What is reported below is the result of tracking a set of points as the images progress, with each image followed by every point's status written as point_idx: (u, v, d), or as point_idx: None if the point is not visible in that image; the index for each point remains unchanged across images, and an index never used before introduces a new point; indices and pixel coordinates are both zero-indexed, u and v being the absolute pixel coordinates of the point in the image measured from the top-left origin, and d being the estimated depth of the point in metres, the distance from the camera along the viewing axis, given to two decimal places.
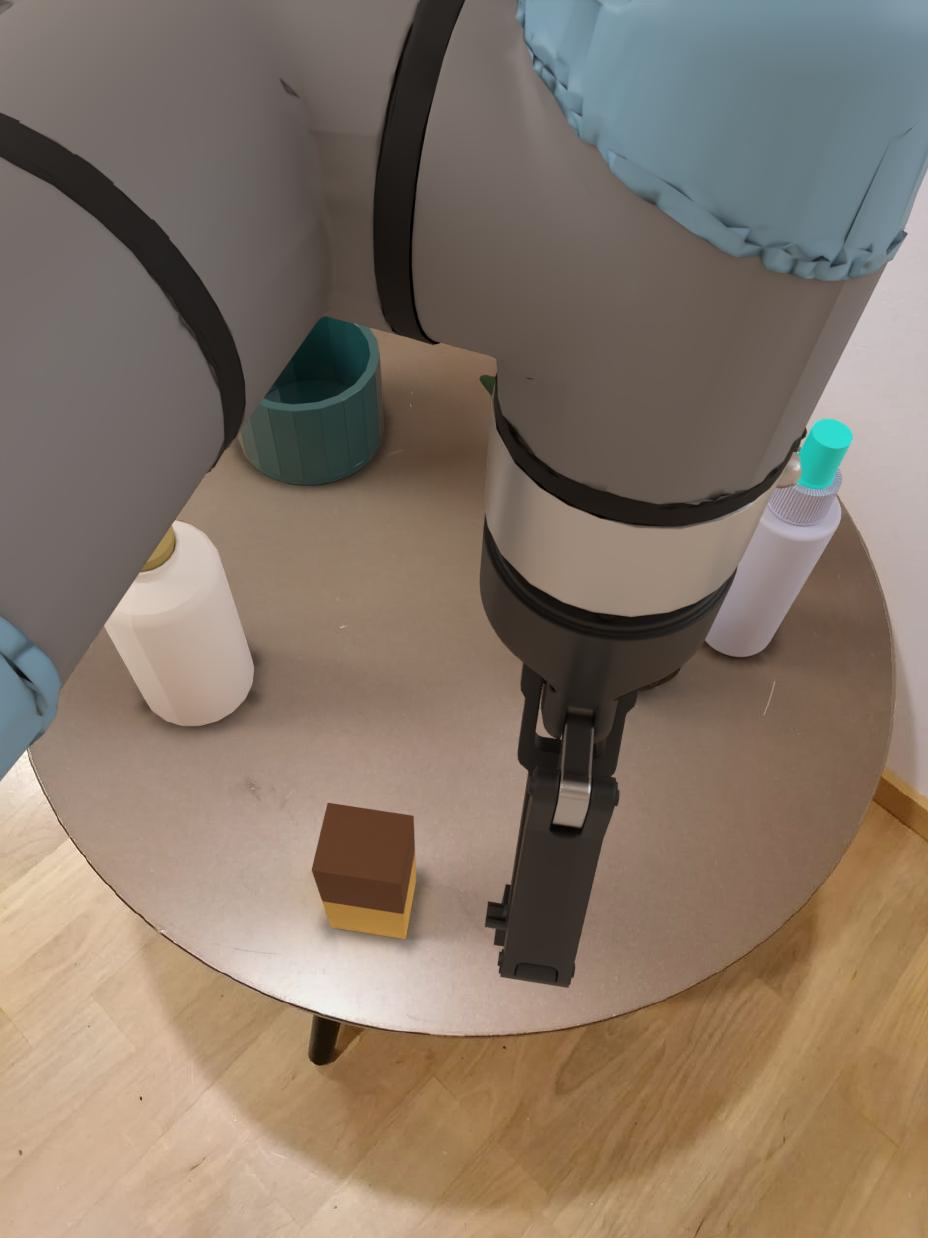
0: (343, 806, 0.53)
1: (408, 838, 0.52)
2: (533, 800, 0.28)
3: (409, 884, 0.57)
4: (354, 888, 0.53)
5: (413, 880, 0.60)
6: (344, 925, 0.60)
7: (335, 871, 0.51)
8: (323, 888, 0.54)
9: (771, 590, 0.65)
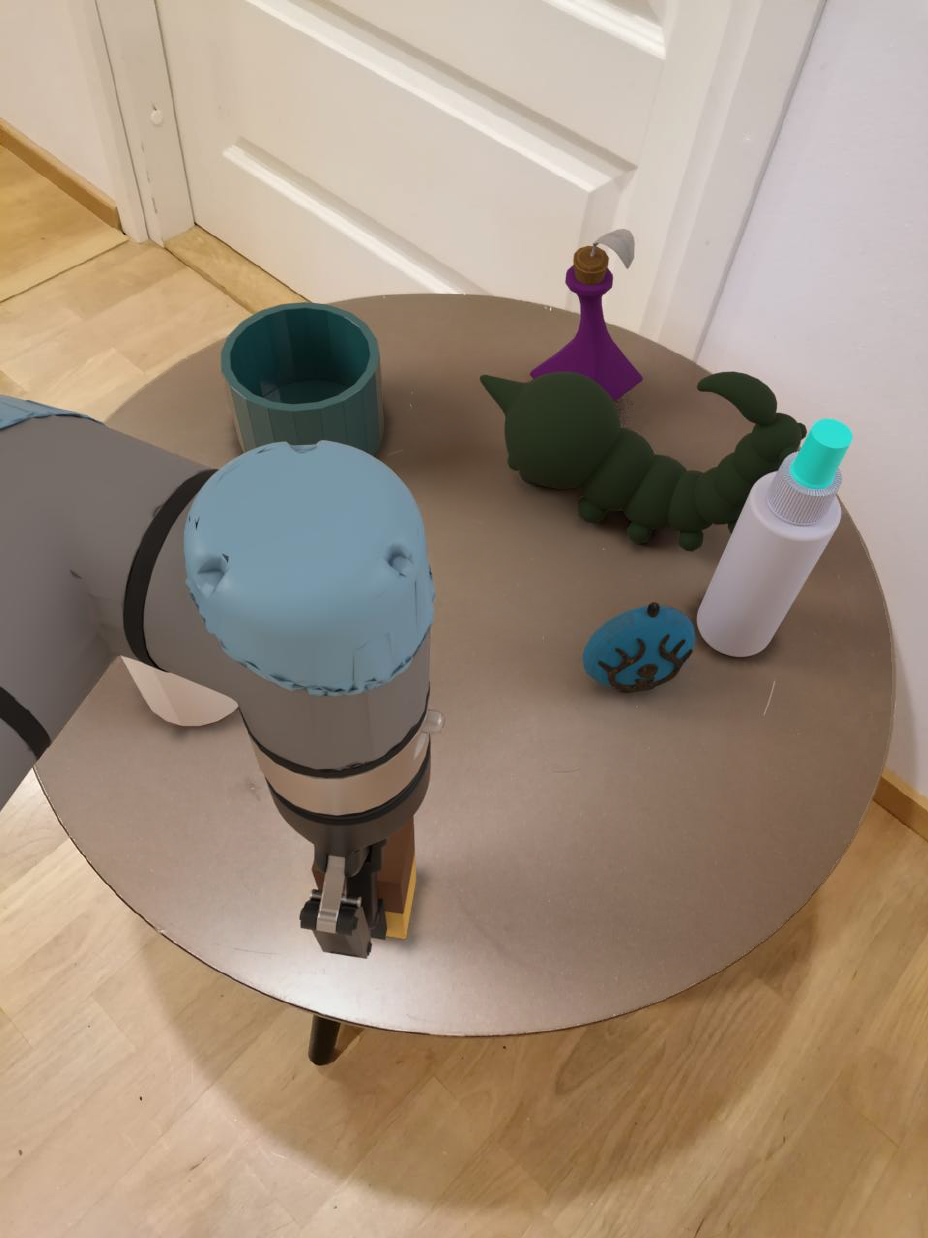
0: None
1: (408, 838, 0.52)
2: None
3: (409, 884, 0.57)
4: None
5: (413, 880, 0.60)
6: None
7: None
8: None
9: (771, 590, 0.65)
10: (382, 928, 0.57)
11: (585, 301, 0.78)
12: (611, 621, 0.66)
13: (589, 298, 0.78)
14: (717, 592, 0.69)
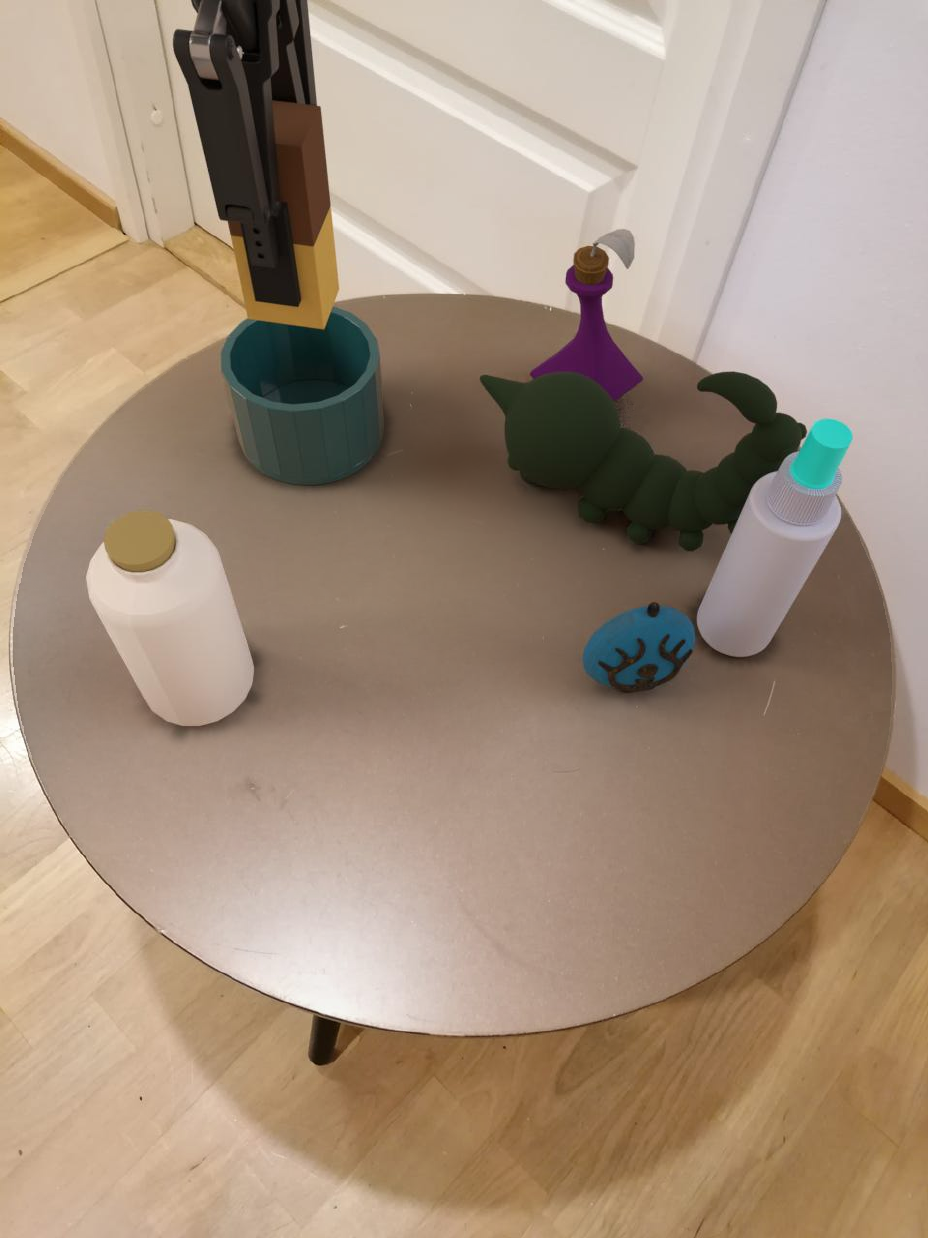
0: None
1: (313, 119, 0.50)
2: (175, 53, 0.41)
3: (323, 231, 0.55)
4: None
5: (332, 262, 0.58)
6: (260, 306, 0.58)
7: None
8: None
9: (771, 590, 0.65)
10: (291, 268, 0.55)
11: (585, 301, 0.78)
12: (611, 621, 0.66)
13: (589, 298, 0.78)
14: (717, 592, 0.69)
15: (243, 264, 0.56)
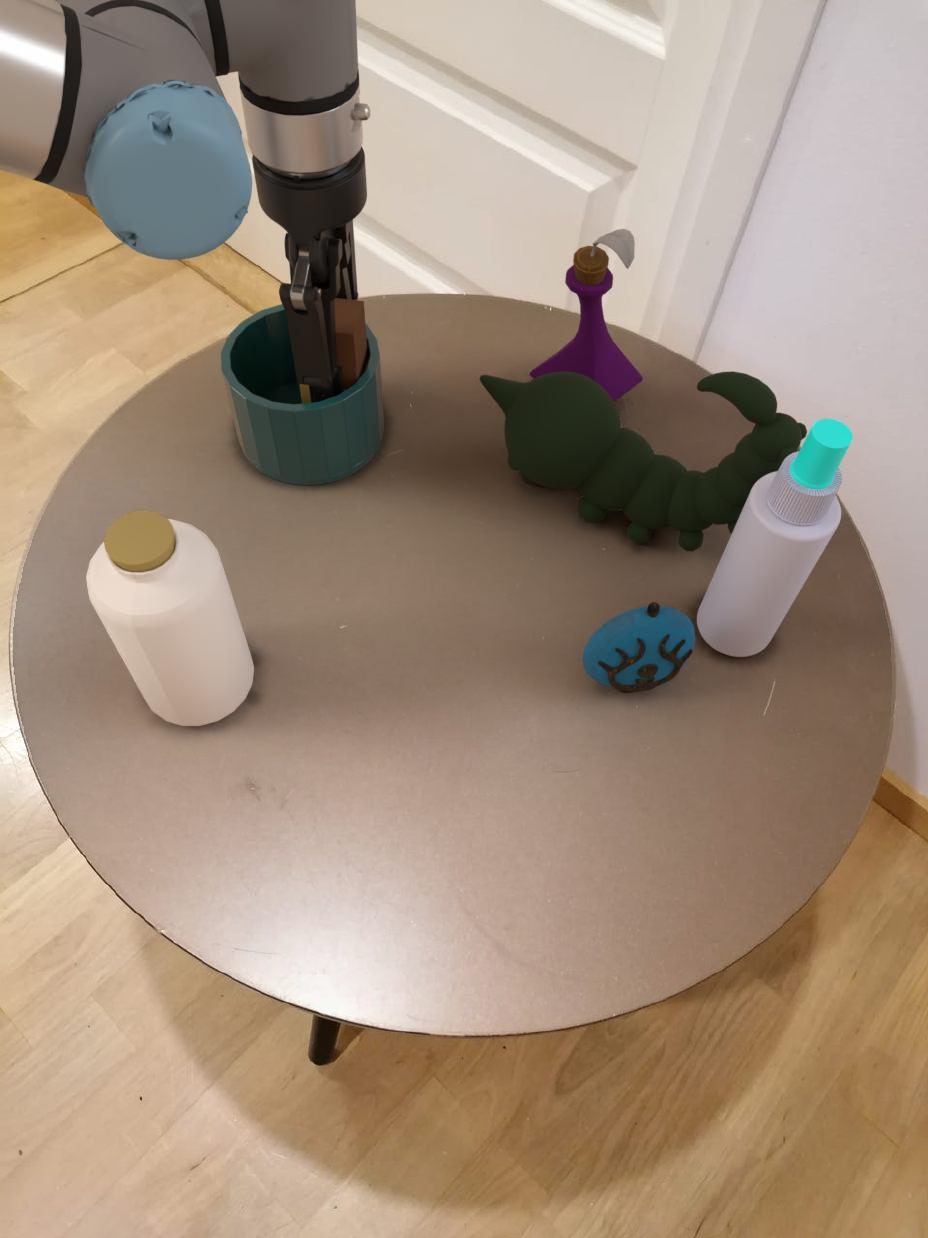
0: None
1: (359, 312, 0.74)
2: (280, 298, 0.65)
3: None
4: None
5: None
6: None
7: None
8: None
9: (771, 590, 0.65)
10: None
11: (585, 301, 0.78)
12: (611, 621, 0.66)
13: (589, 298, 0.78)
14: (717, 592, 0.69)
15: (307, 401, 0.79)
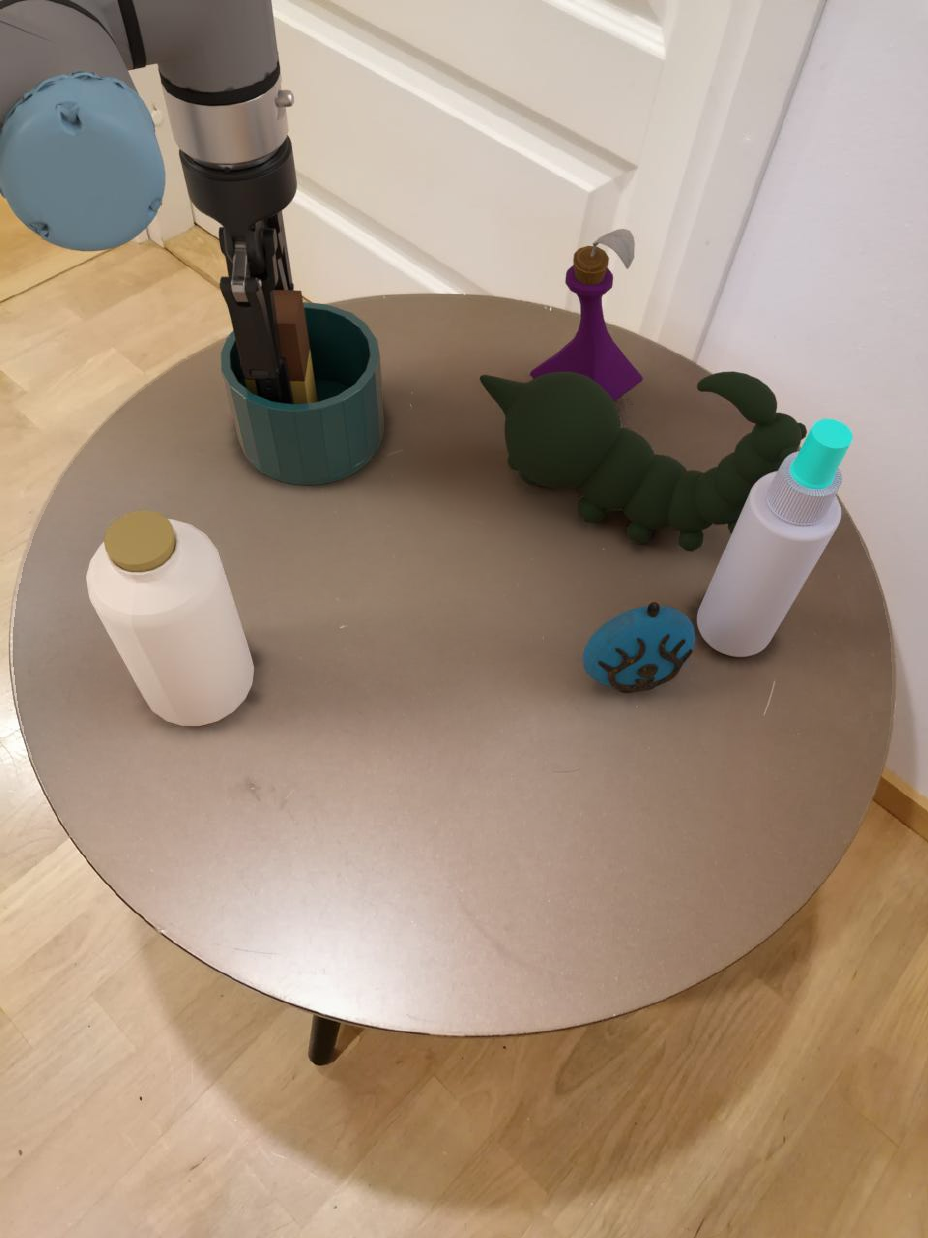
0: None
1: (298, 301, 0.74)
2: (221, 291, 0.65)
3: (307, 368, 0.79)
4: None
5: (313, 385, 0.82)
6: None
7: None
8: None
9: (771, 590, 0.65)
10: (290, 398, 0.78)
11: (585, 301, 0.78)
12: (611, 621, 0.66)
13: (589, 298, 0.78)
14: (717, 592, 0.69)
15: None
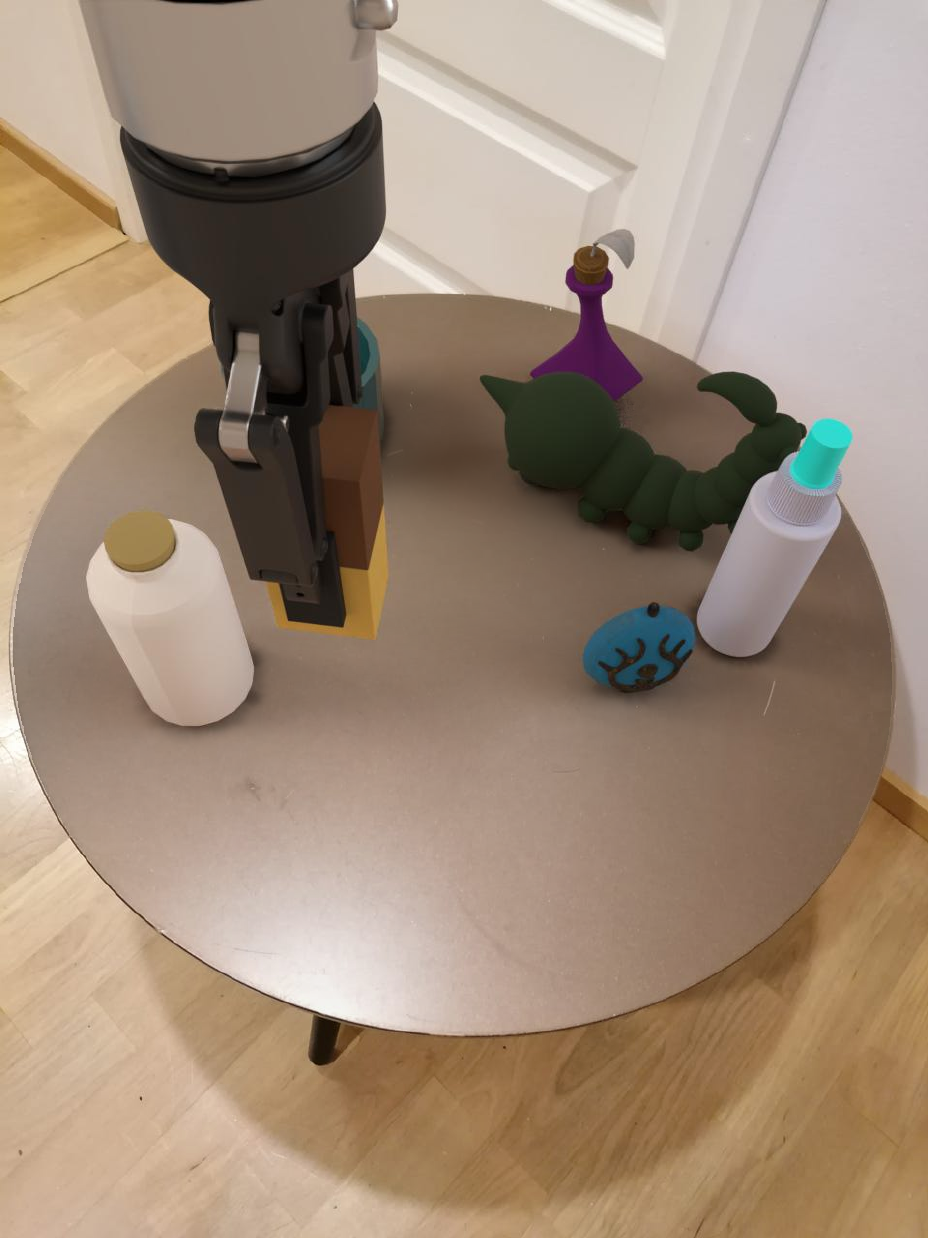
0: None
1: (370, 433, 0.38)
2: (197, 443, 0.29)
3: (376, 541, 0.43)
4: None
5: (383, 559, 0.46)
6: None
7: None
8: None
9: (771, 590, 0.65)
10: (337, 595, 0.43)
11: (585, 301, 0.78)
12: (611, 621, 0.66)
13: (589, 298, 0.78)
14: (717, 592, 0.69)
15: (274, 583, 0.44)
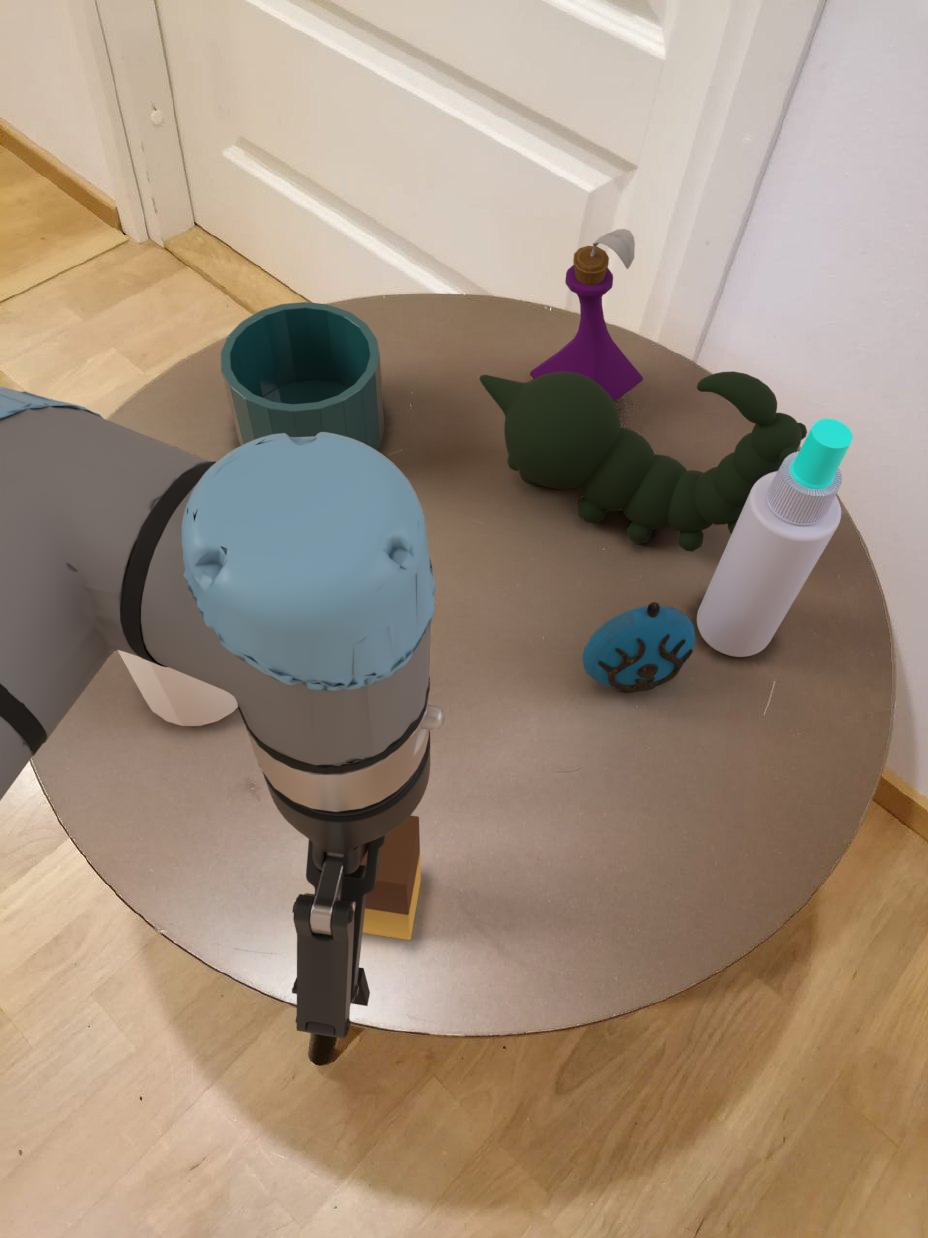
0: None
1: (413, 839, 0.52)
2: (294, 919, 0.41)
3: (414, 885, 0.57)
4: None
5: (418, 881, 0.60)
6: None
7: None
8: None
9: (771, 590, 0.65)
10: (363, 996, 0.52)
11: (585, 301, 0.78)
12: (611, 621, 0.66)
13: (589, 298, 0.78)
14: (717, 592, 0.69)
15: None
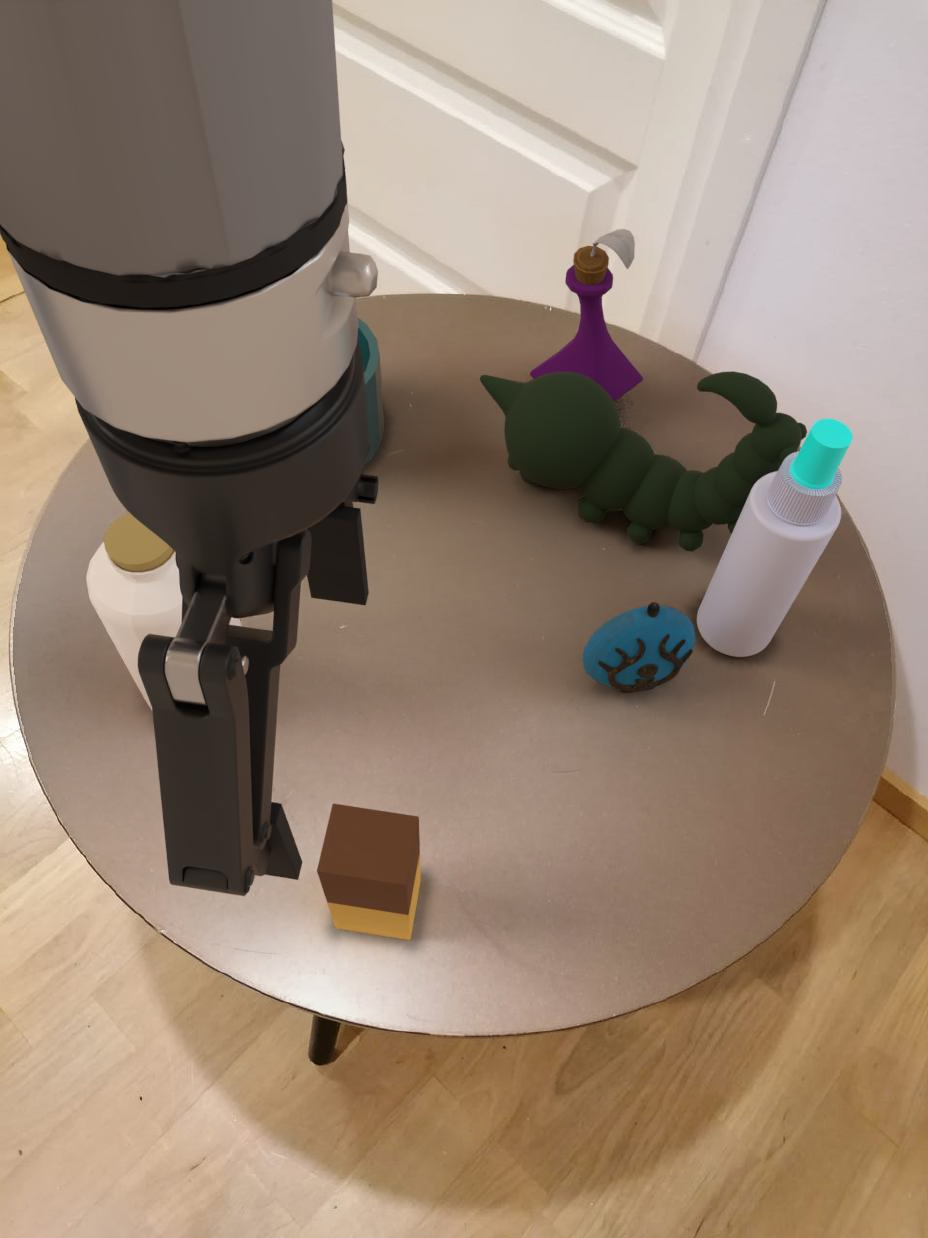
0: (348, 807, 0.53)
1: (413, 839, 0.52)
2: (139, 669, 0.25)
3: (414, 885, 0.57)
4: (359, 889, 0.53)
5: (418, 881, 0.60)
6: (349, 926, 0.60)
7: (341, 872, 0.51)
8: (328, 889, 0.54)
9: (771, 590, 0.65)
10: (288, 857, 0.36)
11: (585, 301, 0.78)
12: (611, 621, 0.66)
13: (589, 298, 0.78)
14: (717, 592, 0.69)
15: (336, 912, 0.58)
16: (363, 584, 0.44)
